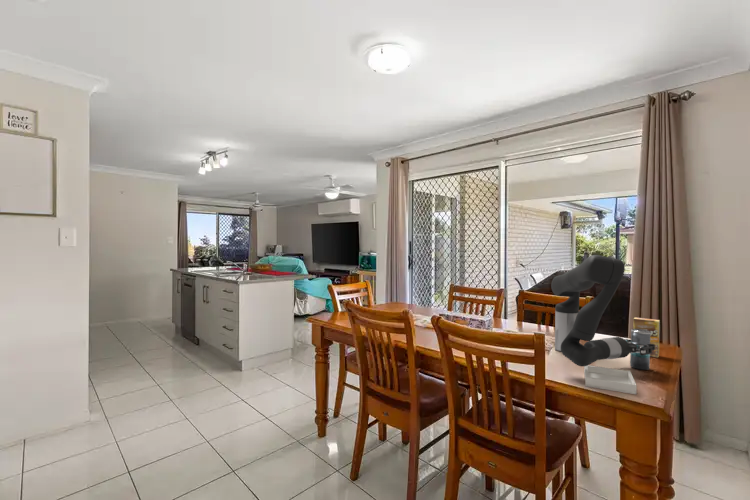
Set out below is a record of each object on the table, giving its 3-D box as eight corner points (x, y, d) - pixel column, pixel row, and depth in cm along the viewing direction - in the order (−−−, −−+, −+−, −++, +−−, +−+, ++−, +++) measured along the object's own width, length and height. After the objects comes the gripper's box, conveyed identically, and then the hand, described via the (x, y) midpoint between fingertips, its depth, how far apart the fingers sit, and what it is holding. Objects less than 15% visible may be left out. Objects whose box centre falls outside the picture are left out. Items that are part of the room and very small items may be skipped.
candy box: (632, 353, 156) (633, 318, 156) (633, 351, 159) (634, 316, 159) (658, 358, 150) (659, 321, 150) (659, 355, 154) (659, 319, 153)
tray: (585, 386, 122) (585, 377, 122) (584, 372, 134) (584, 364, 134) (636, 394, 115) (636, 385, 115) (629, 379, 128) (630, 370, 128)
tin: (631, 367, 138) (632, 331, 137) (628, 363, 143) (629, 327, 142) (651, 370, 135) (652, 333, 134) (648, 365, 140) (649, 329, 139)
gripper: (630, 343, 127) (664, 339, 132) (594, 333, 141) (627, 330, 146) (629, 364, 128) (664, 359, 132) (594, 352, 141) (626, 348, 146)
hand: (644, 344), depth 139 cm, fingers closed on tin, 6 cm apart
